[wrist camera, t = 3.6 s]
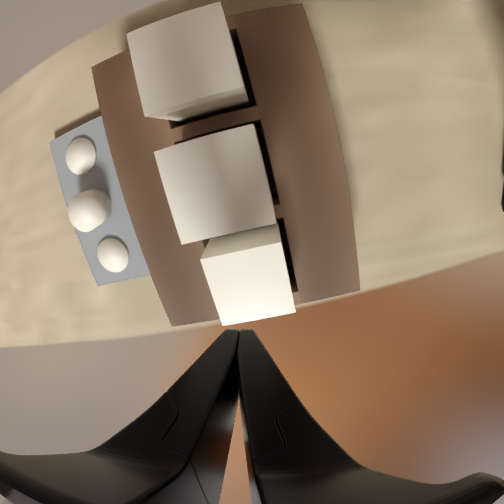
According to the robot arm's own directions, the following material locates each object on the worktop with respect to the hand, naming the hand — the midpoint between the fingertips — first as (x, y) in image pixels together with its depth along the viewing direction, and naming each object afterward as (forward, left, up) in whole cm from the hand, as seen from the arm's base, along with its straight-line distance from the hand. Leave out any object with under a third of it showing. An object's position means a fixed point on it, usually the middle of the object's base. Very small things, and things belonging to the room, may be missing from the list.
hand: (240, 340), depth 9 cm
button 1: (+2, -9, -7) cm, 11 cm away
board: (+1, -4, -9) cm, 10 cm away
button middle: (+1, -4, -7) cm, 8 cm away
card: (+9, -3, -9) cm, 13 cm away
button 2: (0, 0, -8) cm, 8 cm away
